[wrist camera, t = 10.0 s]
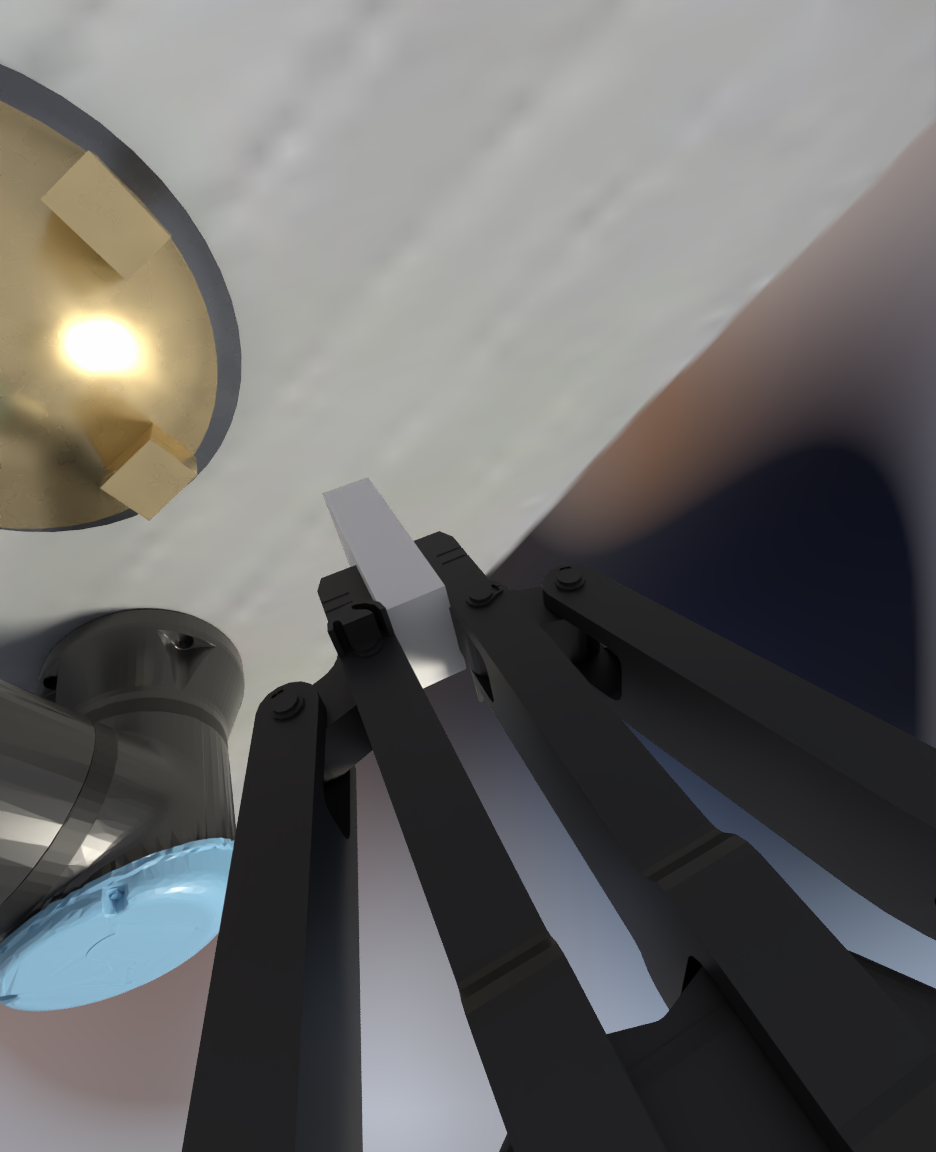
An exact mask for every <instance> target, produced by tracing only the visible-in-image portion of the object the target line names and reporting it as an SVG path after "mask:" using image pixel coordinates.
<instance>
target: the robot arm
mask: <svg viewBox="0 0 936 1152" xmlns="http://www.w3.org/2000/svg"><path fill="white" fill-rule="evenodd" d="M322 494H323V496H324V499H325V502H326V504H327V507H328V509H329V512H330V515H331V517H332V520H333V522H334V525H335V528H336V530H337V533H338V536H339V538H340V541H341V543H342V546H343V549H344V551H345V554H346V557H347V559H348V562H349V564H350V566H351V567H349V568H347V569H344V570H342V571H339V572H336V573H334V574H331V575H329V576H326V577H324V578H321V581H320V584H319V588H318V591H317V592H318V595H319V597H320V600H321V603H322V606H323V608H324V611H325V614H326V617H327V620H328V624H327V626H328V634H329V636H330V638H331V640H332V642H333V645H334V647H335V649H336V651H337V653H338V656H337V660H336V662H335V664H334V666H333V667H332V668H331V670H330V671H329V672H328V673H327V674H326V675H325V676H324V677H322V678H321V679H320V680H319V681H317V682H316V683H314V684H313V685H311V684H309V683H305V682H291V683H288V684H285V685H283V686H280V687H278V688H277V689H275V690H274V691H272V692H271V693H269V694H268V695H267V696H266V697H265V699H264V700H263V701H262V702H261V703H260V705H259V707H258V710H257V712H256V716H255V722H254V728H253V734H252V740H251V745H250V751H249V757H248V763H247V769H246V775H245V781H244V787H243V793H242V799H241V805H240V810H239V816H238V822H237V828H236V824H235V814H234V804H233V794H232V784H231V774H230V764H229V755H228V744H227V740H228V738H229V735H230V732H231V730H232V727H233V725H234V722H235V719H236V716H237V714H238V711H239V708H240V706H241V703H242V700H243V695H244V674H243V666H242V661H241V658H240V655H239V652H238V651H237V649H236V647H235V646H234V644H233V643H232V642H231V640H230V639H229V638H228V637H227V636H226V635H225V634H224V633H223V632H221V631H220V630H219V629H217V628H216V627H214V626H213V625H211V624H209V623H207V622H206V621H203V620H201V619H199V618H196V617H193V616H190V615H187V614H183V613H179V612H174V611H167V610H149V609H148V610H132V611H125V612H120V613H115V614H111V615H107V616H104V617H101V618H98V619H95V620H93V621H91V622H88V623H86V624H84V625H82V626H80V627H79V628H77V629H75V630H74V631H72V632H71V633H69V634H68V635H67V636H65V637H64V638H63V639H62V640H61V641H60V642H59V643H58V644H57V645H56V646H55V647H54V648H53V649H52V650H51V652H50V653H49V655H48V656H47V658H46V660H45V661H44V664H43V666H42V669H41V672H40V676H39V679H38V682H37V685H36V689H35V694H33V693H31V692H28V691H26V690H24V689H21V688H19V687H17V686H14V685H12V684H10V683H8V682H6V681H3V680H1V679H0V1003H2V1004H3V1005H5V1006H7V1007H10V1008H13V1009H18V1010H25V1011H50V1010H58V1009H66V1008H72V1007H77V1006H82V1005H85V1004H89V1003H93V1002H97V1001H100V1000H103V999H107V998H110V997H113V996H116V995H119V994H121V993H124V992H127V991H129V990H131V989H133V988H135V987H139V986H141V985H143V984H146V983H147V982H150V981H152V980H154V979H156V978H158V977H160V976H161V975H163V974H165V973H167V972H168V971H170V970H172V969H174V968H176V967H177V966H179V965H180V964H182V963H183V962H185V961H186V960H188V959H189V958H191V957H192V956H193V955H195V954H196V953H197V952H199V951H200V950H201V949H202V948H203V947H204V946H205V945H207V944H208V943H209V942H210V941H211V940H212V939H213V938H214V937H215V936H216V935H217V934H218V932H219V935H218V941H217V947H216V952H215V958H214V964H213V970H212V977H211V982H210V988H209V994H208V1000H207V1006H206V1012H205V1017H204V1024H203V1029H202V1035H201V1041H200V1047H199V1053H198V1059H197V1065H196V1071H195V1077H194V1083H193V1089H192V1095H191V1100H190V1107H189V1112H188V1118H187V1124H186V1130H185V1136H184V1142H183V1147H182V1152H363V1146H362V1145H363V1143H362V1083H361V1027H360V1025H361V1024H360V968H359V966H360V965H359V909H358V908H359V907H358V853H357V852H358V848H357V791H356V767H355V764H356V763H358V762H359V761H360V760H361V759H362V758H364V757H365V756H366V755H367V754H368V753H369V752H370V751H372V750H373V752H374V755H375V757H376V760H377V763H378V765H379V768H380V771H381V774H382V777H383V779H384V782H385V785H386V788H387V790H388V793H389V796H390V799H391V801H392V804H393V807H394V810H395V812H396V816H397V818H398V821H399V824H400V827H401V829H402V832H403V835H404V838H405V841H406V843H407V846H408V849H409V852H410V854H411V857H412V860H413V863H414V865H415V868H416V871H417V874H418V877H419V879H420V882H421V885H422V887H423V890H424V893H425V896H426V899H427V901H428V904H429V907H430V910H431V913H432V915H433V918H434V921H435V924H436V926H437V929H438V932H439V935H440V938H441V940H442V943H443V946H444V949H445V951H446V954H447V957H448V960H449V962H450V965H451V968H452V971H453V974H454V976H455V979H456V982H457V985H458V989H459V992H460V997H461V1002H462V1005H463V1008H464V1012H465V1015H466V1018H467V1020H468V1024H469V1026H470V1029H471V1032H472V1035H473V1038H474V1041H475V1044H476V1046H477V1049H478V1052H479V1055H480V1058H481V1060H482V1063H483V1066H484V1069H485V1072H486V1074H487V1077H488V1080H489V1083H490V1086H491V1088H492V1091H493V1094H494V1097H495V1100H496V1102H497V1105H498V1108H499V1111H500V1113H501V1116H502V1119H503V1122H504V1125H505V1128H506V1130H507V1135H506V1138H505V1140H504V1142H503V1144H502V1146H501V1149H500V1151H499V1152H936V989H935V988H933V987H931V986H928V985H926V984H924V983H922V982H919V981H917V980H915V979H913V978H910V977H908V976H906V975H904V974H901V973H899V972H897V971H894V970H892V969H890V968H888V967H885V966H883V965H881V964H878V963H876V962H874V961H871V960H870V959H867V958H865V957H863V956H860V955H858V954H856V953H853V952H851V951H848V950H847V949H846V948H845V947H844V946H843V945H842V944H841V943H840V942H839V941H838V939H837V938H836V937H835V936H834V935H833V934H832V933H831V932H830V931H829V929H828V928H827V927H826V926H825V925H824V924H823V923H822V922H821V921H820V920H819V918H818V917H817V916H816V915H815V914H814V913H813V912H812V911H811V909H810V908H809V907H808V906H807V905H806V904H805V903H804V902H803V901H802V900H801V898H800V897H799V896H798V895H797V894H796V893H795V892H794V891H793V890H792V888H791V887H790V886H789V885H788V884H787V883H786V882H785V881H784V880H783V878H782V877H781V876H780V875H779V874H778V873H777V872H776V871H775V870H774V868H772V866H771V865H770V864H769V863H768V862H767V861H766V860H765V858H764V857H763V856H762V855H761V854H760V853H759V852H758V851H757V850H756V849H754V847H753V846H752V845H750V844H749V843H748V842H747V841H746V840H744V839H743V838H741V837H739V836H738V835H736V834H731V833H724V832H721V831H720V830H718V829H717V828H715V827H714V825H712V824H711V822H709V820H708V819H707V818H706V817H705V816H704V815H703V813H702V812H701V811H700V810H699V809H698V808H697V807H696V805H694V803H693V802H692V801H691V800H690V798H689V797H688V796H687V795H686V794H685V793H684V792H683V791H682V789H681V788H680V787H679V786H678V785H677V784H676V782H674V780H673V779H672V778H671V777H670V776H669V774H668V773H667V772H666V771H665V770H664V768H663V767H662V766H661V765H660V764H659V763H658V762H657V761H656V759H655V758H654V757H653V756H652V755H651V754H650V752H649V751H648V750H647V749H646V748H645V747H644V746H643V744H642V743H641V742H640V741H639V740H638V738H637V737H636V736H635V735H634V734H633V733H632V731H631V730H630V729H629V728H628V727H627V726H626V725H625V724H624V722H626V723H627V724H628V725H630V726H631V727H632V728H634V729H635V730H636V731H638V732H639V733H641V734H642V735H643V736H645V737H646V738H647V739H649V740H650V741H651V742H653V743H654V744H655V745H657V746H658V747H659V748H661V749H662V750H663V751H665V752H666V753H668V754H669V755H670V756H672V757H673V758H675V759H676V760H677V761H678V762H680V763H681V764H682V765H684V766H685V767H687V768H688V769H689V770H691V771H692V772H693V773H695V774H696V775H697V776H699V777H700V778H701V779H703V780H705V781H706V782H707V783H708V784H710V785H711V786H712V787H714V788H715V789H716V790H718V791H719V792H721V793H722V794H723V795H725V796H726V797H727V798H729V799H730V800H732V801H733V802H734V803H736V804H737V805H738V806H740V807H741V808H742V809H744V810H745V811H746V812H748V813H749V814H750V815H752V816H753V817H755V818H756V819H757V820H759V821H760V822H761V823H763V824H764V825H765V826H767V827H768V828H769V829H771V830H772V831H774V832H775V833H776V834H778V835H779V836H780V837H782V838H783V839H784V840H786V841H787V842H788V843H790V844H791V845H792V846H794V847H795V848H797V849H798V850H799V851H801V852H802V853H804V854H805V855H806V856H807V857H809V858H810V859H812V860H813V861H814V862H816V863H817V864H819V865H820V866H821V867H822V868H824V869H825V870H826V871H828V872H829V873H831V874H832V875H833V876H835V877H836V878H837V879H839V880H840V881H841V882H843V883H844V884H845V885H847V886H848V887H850V888H851V889H852V890H854V891H855V892H857V893H858V894H860V895H861V896H863V897H864V898H866V899H867V900H869V901H870V902H872V903H873V904H874V905H876V906H877V907H879V908H880V909H882V910H883V911H885V912H886V913H888V914H890V915H892V916H893V917H895V918H897V919H898V920H900V921H902V922H903V923H906V924H907V925H909V926H910V927H912V928H914V929H916V930H917V931H919V932H921V933H923V934H925V935H926V936H928V937H931V938H932V939H934V940H936V748H934V747H931V746H930V745H928V744H926V743H924V742H922V741H920V740H918V739H916V738H914V737H913V736H911V735H909V734H907V733H905V732H903V731H901V730H899V729H897V728H895V727H893V726H891V725H890V724H888V723H886V722H884V721H882V720H880V719H878V718H876V717H874V716H872V715H870V714H868V713H867V712H865V711H863V710H861V709H859V708H857V707H855V706H853V705H851V704H849V703H847V702H845V701H844V700H842V699H840V698H838V697H836V696H834V695H832V694H830V693H828V692H826V691H824V690H822V689H820V688H819V687H817V686H815V685H812V684H811V683H809V682H807V681H805V680H803V679H801V678H799V677H798V676H796V675H794V674H791V673H790V672H788V671H786V670H784V669H782V668H780V667H778V666H776V665H774V664H773V663H770V662H769V661H767V660H765V659H763V658H761V657H759V656H757V655H755V654H753V653H751V652H750V651H748V650H746V649H744V648H741V647H740V646H738V645H736V644H734V643H732V642H730V641H728V640H727V639H725V638H722V637H721V636H719V635H717V634H715V633H713V632H711V631H709V630H707V629H705V628H704V627H702V626H700V625H698V624H696V623H694V622H692V621H690V620H688V619H686V618H684V617H682V616H681V615H679V614H677V613H675V612H673V611H671V610H669V609H667V608H665V607H663V606H661V605H659V604H657V603H656V602H654V601H652V600H650V599H648V598H646V597H644V596H642V595H640V594H638V593H636V592H634V591H633V590H631V589H629V588H627V587H625V586H623V585H621V584H619V583H617V582H615V581H613V580H611V579H609V578H608V577H605V576H604V575H602V574H600V573H598V572H596V571H594V570H592V569H590V568H588V567H585V566H582V565H577V564H576V565H575V564H567V565H561V566H557V567H555V568H553V569H551V570H549V571H548V572H547V573H546V574H545V575H544V576H543V579H542V582H541V585H542V586H541V587H535V588H530V589H522V590H509V589H508V588H507V587H505V586H504V585H503V584H501V583H500V582H497V581H493V580H489V579H488V578H487V577H486V576H485V574H484V573H483V572H482V571H481V570H480V569H479V567H478V566H477V565H476V564H475V563H474V561H473V560H472V559H471V558H470V557H469V555H467V553H466V552H465V551H464V550H463V548H461V546H460V545H459V544H458V542H457V541H456V540H455V539H454V538H453V537H452V536H450V535H447V534H445V533H442V532H440V531H439V532H436V533H433V534H431V535H428V536H426V537H423V538H421V539H418V540H415V541H413V540H412V538H411V537H410V536H409V534H408V533H407V531H406V530H405V529H404V527H403V526H402V524H401V523H400V522H399V520H398V519H397V517H396V516H395V515H394V513H393V512H392V510H391V509H390V507H389V506H388V505H387V503H386V502H385V500H384V499H383V498H382V496H381V495H380V493H379V492H378V491H377V489H376V488H375V486H374V485H373V484H372V482H371V481H370V479H369V478H365V479H362V480H359V481H357V482H354V483H351V484H348V485H345V486H342V487H339V488H337V489H334V490H331V491H328V492H325V493H322ZM463 656H464V658H465V659H466V661H467V663H468V664H469V666H470V668H471V672H472V676H473V680H474V684H475V688H476V691H477V696H478V699H479V702H482V701H484V700H483V697H484V699H485V700H486V702H487V703H488V705H489V707H490V708H491V710H492V711H493V713H494V715H495V716H496V718H497V720H498V721H499V723H500V724H501V726H502V727H503V729H504V731H505V732H506V734H507V736H508V737H509V739H510V740H511V742H512V744H513V745H514V747H515V749H516V750H517V751H518V753H519V755H520V756H521V758H522V760H523V761H524V763H525V765H526V766H527V768H528V769H529V771H530V773H531V774H532V776H533V777H534V779H535V781H536V782H537V784H538V786H539V787H540V789H541V790H542V792H543V794H544V795H545V797H546V798H547V800H548V802H549V803H550V805H551V806H552V808H553V810H554V811H555V813H556V815H557V816H558V818H559V819H560V821H561V823H562V824H563V826H564V827H565V829H566V831H567V832H568V834H569V835H570V837H571V839H572V840H573V842H574V844H575V845H576V847H577V848H578V850H579V852H580V853H581V855H582V856H583V858H584V860H585V861H586V862H587V864H588V866H589V868H590V869H591V871H592V872H593V874H594V875H595V877H596V879H597V880H598V882H599V884H600V885H601V887H602V889H603V890H604V892H605V893H606V895H607V897H608V898H609V900H610V901H611V903H612V905H613V906H614V908H615V910H616V911H617V913H618V914H619V916H620V918H621V919H622V921H623V922H624V924H625V926H626V927H627V929H628V930H629V932H630V934H631V935H632V937H633V939H634V940H635V942H636V944H637V946H638V948H639V950H640V952H641V954H642V957H643V959H644V962H645V964H646V967H647V970H648V972H649V974H650V976H651V978H652V980H653V982H654V984H655V986H656V988H657V990H658V991H659V993H660V995H661V996H662V998H663V1000H664V1002H665V1003H666V1005H667V1007H668V1008H669V1012H668V1013H667V1014H666V1015H665V1016H664V1017H663V1018H662V1019H660V1020H659V1021H656V1022H653V1023H649V1024H645V1025H641V1026H637V1027H633V1028H629V1029H625V1030H622V1031H618V1032H614V1033H610V1034H606V1033H605V1031H604V1029H603V1027H602V1025H601V1024H600V1022H599V1020H598V1018H597V1016H596V1014H595V1012H594V1010H593V1008H592V1006H591V1004H590V1002H589V1000H588V999H587V997H586V995H585V993H584V991H583V989H582V987H581V985H580V983H579V981H578V980H577V977H576V975H575V974H574V972H573V970H572V968H571V966H570V964H569V963H568V961H567V959H566V957H565V955H564V953H563V952H562V950H561V949H560V947H559V945H558V944H557V942H556V941H555V940H554V939H553V938H552V937H551V936H550V934H549V932H548V931H547V929H546V927H545V925H544V923H543V922H542V920H541V918H540V916H539V914H538V912H537V910H536V908H535V906H534V904H533V902H532V900H531V898H530V896H529V894H528V892H527V890H526V889H525V887H524V885H523V883H522V881H521V879H520V877H519V875H518V873H517V871H516V869H515V867H514V865H513V863H512V861H511V859H510V857H509V855H508V853H507V852H506V850H505V848H504V846H503V844H502V842H501V840H500V838H499V836H498V834H497V832H496V830H495V828H494V826H493V824H492V822H491V820H490V818H489V817H488V815H487V813H486V811H485V809H484V807H483V805H482V803H481V801H480V799H479V797H478V795H477V793H476V791H475V789H474V787H473V786H472V784H471V781H470V779H469V778H468V776H467V774H466V772H465V770H464V768H463V766H462V764H461V762H460V760H459V758H458V756H457V754H456V752H455V750H454V748H453V746H452V744H451V742H450V741H449V739H448V737H447V735H446V733H445V731H444V729H443V727H442V725H441V723H440V721H439V720H438V717H437V715H436V713H435V711H434V709H433V707H432V706H431V704H430V702H429V700H428V698H427V696H426V694H425V692H424V690H423V688H425V687H427V686H429V685H431V684H433V683H436V682H438V681H440V680H442V679H444V678H446V677H449V676H451V675H453V674H455V673H457V672H459V671H462V670H464V669H466V666H465V662H464V658H463ZM482 695H483V696H482ZM622 720H623V721H624V722H623V721H622Z"/></svg>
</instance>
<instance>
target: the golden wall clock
mask: <svg viewBox="0 0 936 1152" xmlns="http://www.w3.org/2000/svg"><path fill="white" fill-rule="evenodd" d="M171 236H172V234H171V233H170V232H169V231H168V230H167V229H166V228H165V227H164V226H163V225H162V224H161V223H160V221H159V220H158V219H157V218H156V217H155V216H154V214H153V213H152V212H151V211H150V210H149V209H148V207H147V206H146V205H145V204H144V203H143V201H142V200H141V199H140V198H139V197H138V196H137V195H136V194H135V193H134V192H133V191H132V190H131V189H130V188H129V187H128V186H127V185H126V184H125V183H123V182H122V181H121V180H120V179H119V178H118V177H117V176H116V175H115V174H114V173H113V172H112V171H111V170H110V169H109V168H108V166H107V165H106V164H105V163H104V162H103V161H102V160H101V159H100V158H99V157H98V156H97V155H96V154H94V153H92V152H91V151H89V150H88V151H85V150H84V149H83V148H81V147H80V146H78V145H76V144H75V143H73V142H72V141H70V140H69V139H67V138H66V137H64V136H63V135H61V134H60V133H58V132H57V131H55V130H53V129H52V128H50V127H49V126H47V125H46V124H44V123H42V122H41V121H39V120H37V119H35V118H33V117H31V116H29V115H27V114H25V113H23V112H22V111H20V110H18V109H16V108H14V107H12V106H10V105H8V104H6V103H4V102H2V101H0V527H2V528H12V529H44V528H55V527H66V526H73V525H78V524H83V523H88V522H93V521H97V520H100V519H103V518H106V517H109V516H113V515H116V514H118V513H121V512H123V511H125V510H127V509H129V508H131V509H132V510H134V511H135V512H137V513H138V514H140V515H141V516H143V517H144V518H146V519H147V520H151V519H152V518H153V517H154V516H155V515H156V514H157V513H158V512H159V511H160V510H161V509H162V508H163V507H164V506H165V505H166V504H167V503H168V502H169V501H170V500H172V499H173V498H174V497H175V496H176V495H177V494H178V493H179V492H180V491H181V490H182V489H183V488H184V487H185V486H186V485H187V484H188V483H189V482H190V481H191V480H193V479H194V478H195V477H196V476H197V458H196V457H195V456H194V454H195V452H196V451H197V449H198V448H199V446H200V444H201V442H202V440H203V438H204V435H205V433H206V431H207V429H208V427H209V423H210V420H211V416H212V413H213V409H214V406H215V398H216V391H217V355H216V348H215V342H214V335H213V330H212V326H211V322H210V319H209V315H208V312H207V308H206V305H205V301H204V299H203V296H202V294H201V292H200V289H199V287H198V284H197V282H196V279H195V277H194V275H193V273H192V271H191V270H190V268H189V266H188V264H187V262H186V260H185V259H184V257H183V255H182V253H181V251H180V250H179V248H178V247H177V245H176V244H175V242H174V241H173V240H172V238H171Z"/></svg>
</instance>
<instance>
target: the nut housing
mask: <svg viewBox="0 0 936 1152" xmlns="http://www.w3.org/2000/svg"><path fill="white" fill-rule="evenodd" d="M0 101H2V102H4V103H6V104H8V105H10V106H12V107H14V108H16V109H18V110H20V111H22V112H23V113H25V114H27V115H29V116H31V117H33V118H35V119H37V120H39V121H41V122H42V123H44V124H46V125H47V126H49V127H50V128H52V129H53V130H55V131H57V132H58V133H60V134H61V135H63V136H64V137H66V138H67V139H69V140H70V141H72V142H73V143H75V144H76V145H78V146H80V147H81V148H83V149H84V150H85V151H88V150H89V151H91V152H92V153H94V154H96V155H97V156H98V157H99V158H100V159H101V160H102V161H103V162H104V163H105V164H106V165H107V166H108V168H109V169H110V170H111V171H112V172H113V173H114V174H115V175H116V176H117V177H118V178H119V179H120V180H121V181H122V182H123V183H125V184H126V185H127V186H128V187H129V188H130V189H131V190H132V191H133V192H134V193H135V194H136V195H137V196H138V197H139V198H140V199H141V200H142V201H143V203H144V204H145V205H146V206H147V207H148V209H149V210H150V211H151V212H152V213H153V214H154V216H155V217H156V218H157V219H158V220H159V221H160V223H161V224H162V225H163V226H164V227H165V228H166V229H167V230H168V231H169V232H170V233H171V234H172V236H171V238H172V240H173V241H174V242H175V244H176V245H177V247H178V248H179V250H180V251H181V253H182V255H183V257H184V259H185V260H186V262H187V264H188V266H189V268H190V270H191V271H192V273H193V275H194V277H195V279H196V282H197V284H198V287H199V289H200V292H201V294H202V296H203V299H204V301H205V305H206V308H207V312H208V315H209V319H210V322H211V326H212V330H213V335H214V342H215V348H216V355H217V391H216V398H215V406H214V409H213V413H212V416H211V420H210V423H209V427H208V429H207V431H206V433H205V435H204V438H203V440H202V442H201V444H200V446H199V448H198V449H197V451H196V452H195V454H194V456H195V457H196V458H197V475H198V474H199V473H200V472H201V471H202V470H203V469H204V468H205V467H206V466H207V465H208V463H209V462H210V460H211V459H212V457H213V456H214V454H215V453H216V452H217V450H218V449H219V447H220V446H221V444H222V442H223V440H224V438H225V435H226V433H227V431H228V429H229V427H230V425H231V422H232V419H233V415H234V412H235V409H236V406H237V401H238V395H239V389H240V382H241V347H240V339H239V330H238V325H237V321H236V317H235V313H234V309H233V305H232V301H231V298H230V295H229V292H228V290H227V287H226V284H225V282H224V279H223V276H222V274H221V271H220V269H219V267H218V265H217V263H216V261H215V259H214V257H213V255H212V253H211V251H210V249H209V247H208V245H207V243H206V241H205V240H204V238H203V237H202V235H201V233H200V232H199V230H198V229H197V227H196V226H195V224H194V223H193V221H192V219H191V218H190V216H189V215H188V213H187V212H186V210H185V209H184V208H183V207H182V205H181V204H180V203H179V202H178V200H177V199H176V198H175V197H174V195H173V194H172V193H171V191H170V190H169V189H168V188H167V186H166V185H165V184H164V183H163V181H162V180H161V179H160V178H159V177H158V176H157V175H156V174H155V173H154V172H153V171H152V170H151V169H150V168H149V167H148V166H147V165H146V164H145V163H144V162H143V161H142V160H141V159H140V158H139V157H138V156H137V155H136V153H135V152H134V151H132V150H131V149H130V148H129V147H128V146H127V145H125V144H124V143H123V142H122V141H121V140H120V139H118V138H117V137H116V136H115V135H114V134H113V133H111V132H110V131H109V130H108V129H107V128H105V127H104V126H103V125H102V124H101V123H99V122H98V121H97V120H95V119H94V118H92V117H91V116H89V115H88V114H87V113H85V112H84V111H82V110H81V109H79V108H78V107H77V106H75V105H74V104H72V103H71V102H69V101H68V100H67V99H65V98H64V97H62V96H60V95H59V94H57V93H55V92H53V91H52V90H50V89H48V88H46V87H44V86H43V85H41V84H39V83H37V82H36V81H34V80H32V79H30V78H28V77H27V76H25V75H23V74H21V73H19V72H17V71H14V70H12V69H10V68H8V67H5V66H3V65H1V64H0ZM194 479H195V478H194ZM194 479H193V480H194ZM193 480H191V481H193ZM191 481H190V482H191ZM190 482H189V483H190ZM189 483H188V484H189ZM188 484H187V485H188ZM135 515H138V513H137V512H135V511H134V510H132V509H131V508H129V509H127V510H125V511H123V512H121V513H118V514H116V515H113V516H109V517H106V518H103V519H100V520H97V521H93V522H88V523H83V524H78V525H73V526H66V527H55V528H44V529H12V528H2V527H0V529H4V530H14V531H27V532H57V531H68V530H80V529H86V528H91V527H97V526H102V525H107V524H111V523H114V522H117V521H120V520H124V519H127V518H130V517H133V516H135Z"/></svg>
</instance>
